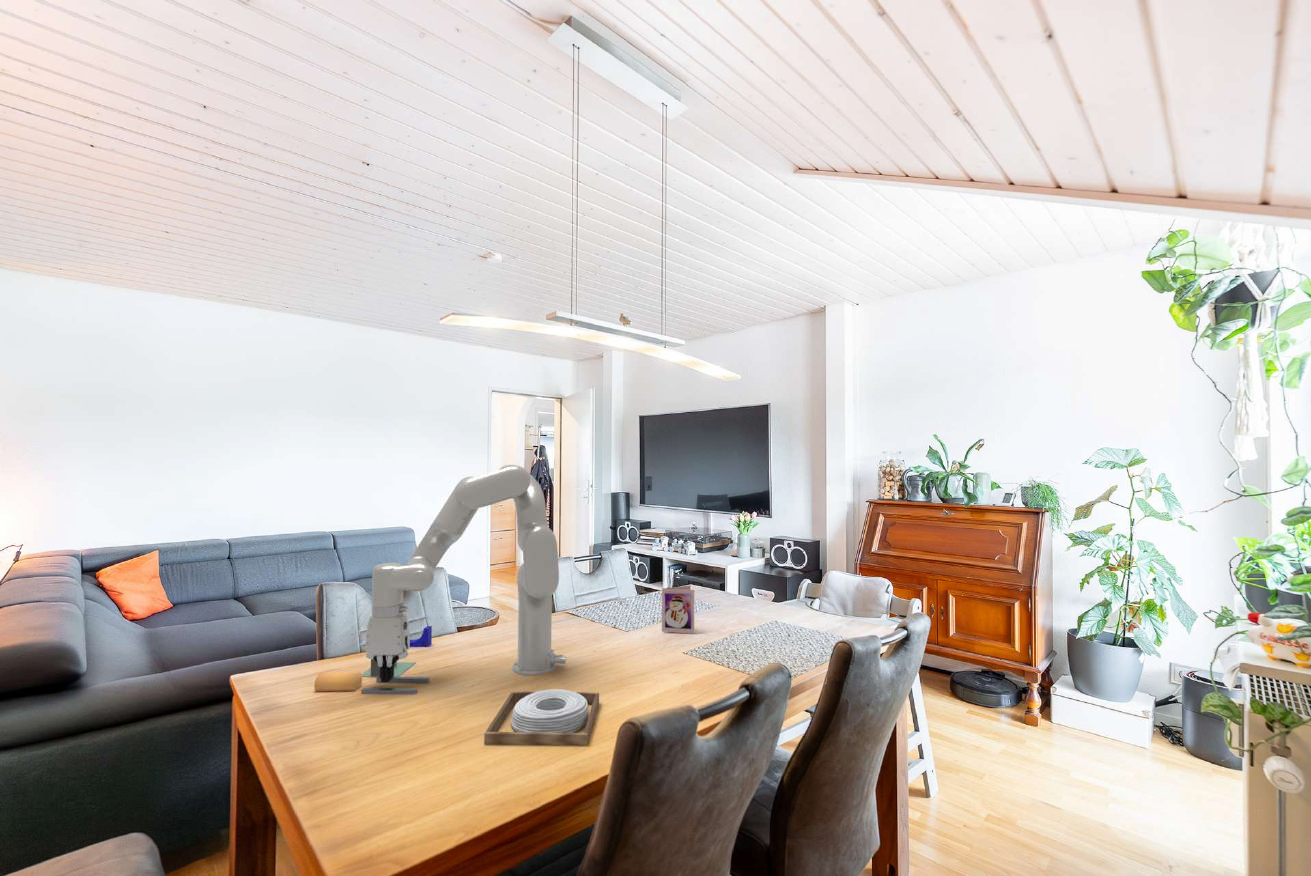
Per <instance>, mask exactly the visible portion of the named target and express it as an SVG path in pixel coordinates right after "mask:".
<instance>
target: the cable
mask: <svg viewBox="0 0 1311 876" xmlns="http://www.w3.org/2000/svg"><path fill="white" fill-rule="evenodd" d="M534 692H535V693H532V694H529V695H527V696H525V697H524V698H522V699H521V700H519V701H518V702H517V703H516V704H514V706H513V710H512V716H511V719H510V724H511V728H512V729H513V731H514V732H543V733H577V732H578V731H579V730H581V729H582V728H583V727H585V726H586V724H587V720H588V717H589V705H588V703H587V700H586V699H585V698H584V697H583V696H582V695H580V694H578V693H576V692H577V691H573V690H568V689H561V688H559V689H558V688H554V689H553V688H551V689H541V690H538V691H534Z"/></svg>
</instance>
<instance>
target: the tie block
mask: <svg viewBox="0 0 1311 876" xmlns="http://www.w3.org/2000/svg"><path fill="white" fill-rule="evenodd" d="M387 660H388V655H387ZM397 662H398V661H397ZM397 662H396V663H395V664H394V668H395V667H396V666H397ZM370 668H371V676H380V667H379V666H378V664H377V663H376V661H375V660H373V659H370Z"/></svg>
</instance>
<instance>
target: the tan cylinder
mask: <svg viewBox="0 0 1311 876" xmlns="http://www.w3.org/2000/svg"><path fill="white" fill-rule="evenodd" d="M361 674H362V673H361V672H333V673H332V672H331V673H330V672H329V673H328V672H327V673H319V674H318V675H316V679H315V680H314V685H313V686H314V691H315V692H345V691H346V692H355V691H357V690H358V689H359V688H360V687H362V682H363V677H362V675H361Z"/></svg>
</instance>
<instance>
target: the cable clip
mask: <svg viewBox="0 0 1311 876" xmlns="http://www.w3.org/2000/svg"><path fill="white" fill-rule="evenodd" d="M432 628H433V627H432V625H427V626H425V627H424V628H423V630H422V634H421V636H420V637H419V638H417V639H410V647H409V648H429V647H431V646H432V641H433V640H432V637H433V635H432V631H433V629H432Z"/></svg>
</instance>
